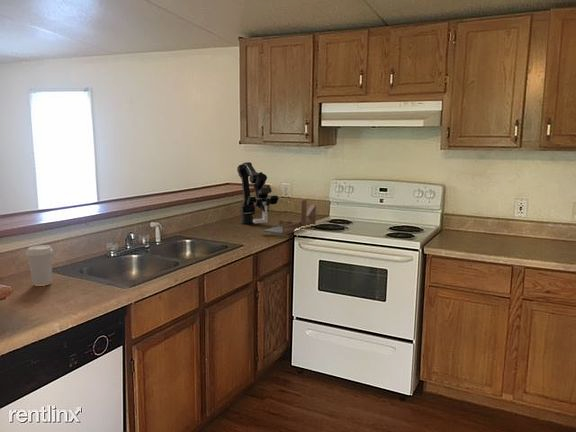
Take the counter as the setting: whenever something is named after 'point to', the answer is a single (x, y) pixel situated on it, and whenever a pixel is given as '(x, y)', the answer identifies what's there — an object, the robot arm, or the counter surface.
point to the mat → (277, 230)
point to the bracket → (264, 216)
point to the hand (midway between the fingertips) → (266, 211)
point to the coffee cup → (40, 263)
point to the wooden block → (307, 214)
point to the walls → (289, 225)
